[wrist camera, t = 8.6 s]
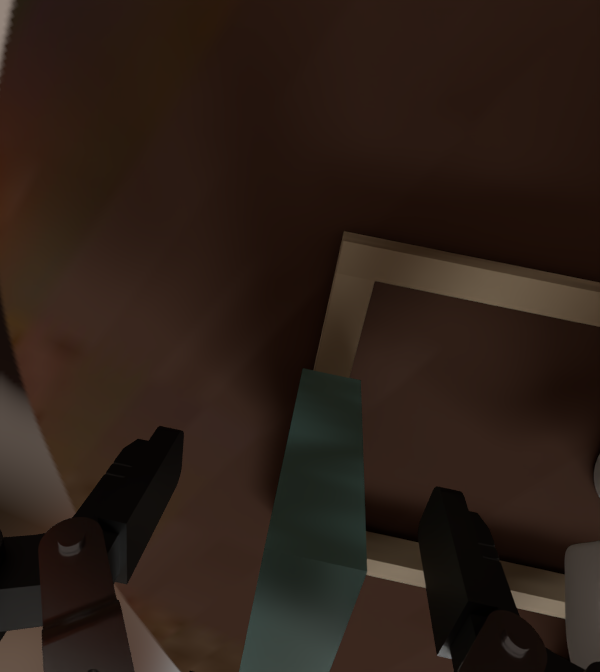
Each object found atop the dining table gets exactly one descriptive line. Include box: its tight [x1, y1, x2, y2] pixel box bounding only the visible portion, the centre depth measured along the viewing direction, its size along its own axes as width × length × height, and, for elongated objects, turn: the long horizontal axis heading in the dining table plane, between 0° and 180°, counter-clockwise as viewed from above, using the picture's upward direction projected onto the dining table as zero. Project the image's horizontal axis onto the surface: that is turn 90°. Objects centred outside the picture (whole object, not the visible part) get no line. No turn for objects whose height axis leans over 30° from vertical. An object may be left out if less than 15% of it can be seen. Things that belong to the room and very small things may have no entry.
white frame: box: [239, 231, 600, 672], centre depth 13 cm, size 19×14×8 cm
